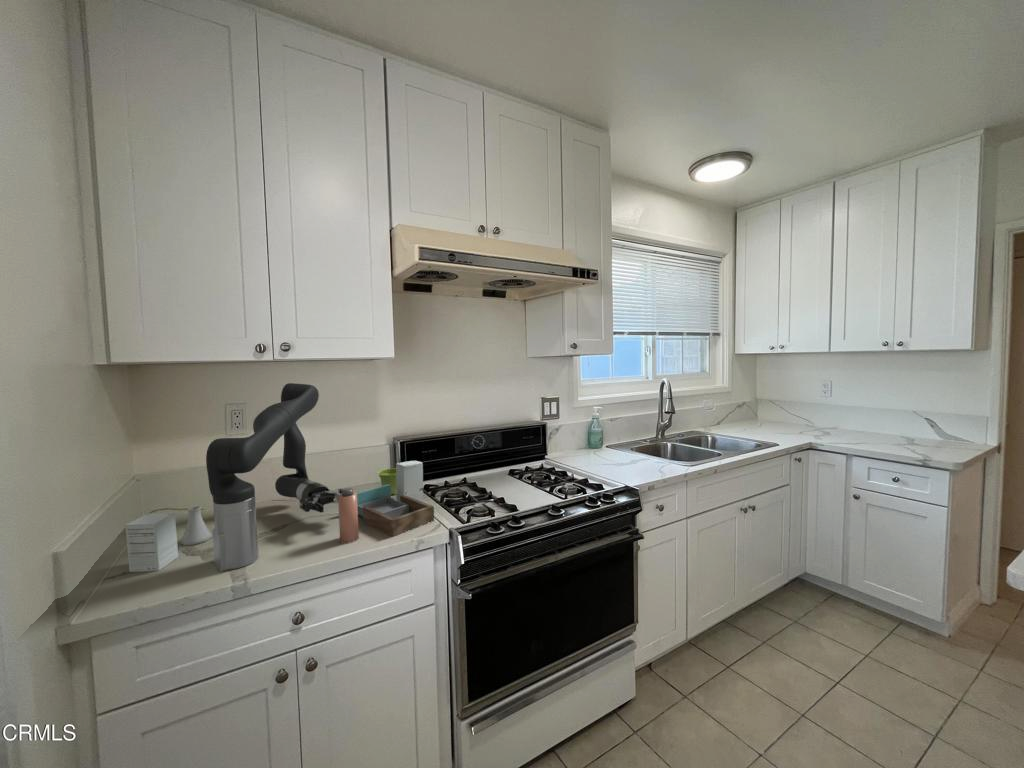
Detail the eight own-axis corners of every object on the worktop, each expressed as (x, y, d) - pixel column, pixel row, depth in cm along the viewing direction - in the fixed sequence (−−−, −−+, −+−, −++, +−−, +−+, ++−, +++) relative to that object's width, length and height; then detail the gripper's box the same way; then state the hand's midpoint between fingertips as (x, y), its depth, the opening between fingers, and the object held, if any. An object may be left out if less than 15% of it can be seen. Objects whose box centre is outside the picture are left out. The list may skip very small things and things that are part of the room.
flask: (195, 547, 121) (193, 513, 120) (174, 545, 122) (172, 511, 121) (217, 536, 128) (215, 504, 127) (197, 534, 129) (195, 502, 128)
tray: (372, 526, 133) (371, 506, 133) (348, 514, 143) (347, 495, 143) (414, 511, 145) (413, 493, 145) (389, 501, 155) (389, 484, 155)
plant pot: (373, 496, 162) (373, 474, 161) (386, 488, 171) (386, 467, 170) (395, 498, 160) (395, 475, 159) (407, 490, 169) (407, 468, 168)
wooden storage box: (393, 536, 126) (392, 520, 126) (363, 521, 138) (362, 506, 137) (434, 521, 138) (433, 506, 137) (403, 508, 149) (403, 494, 149)
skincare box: (403, 507, 150) (402, 466, 149) (395, 502, 155) (394, 463, 154) (424, 501, 156) (423, 462, 155) (416, 497, 160) (415, 459, 159)
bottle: (345, 544, 121) (343, 494, 120) (336, 539, 125) (334, 490, 124) (362, 538, 125) (360, 489, 124) (353, 533, 129) (351, 485, 127)
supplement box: (150, 558, 114) (147, 513, 113) (179, 557, 115) (176, 512, 114) (127, 572, 107) (123, 524, 106) (158, 571, 107) (155, 523, 106)
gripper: (289, 488, 134) (312, 499, 124) (333, 477, 145) (357, 487, 134) (290, 510, 135) (313, 524, 124) (334, 498, 145) (358, 510, 135)
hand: (336, 505), depth 129 cm, fingers open, 8 cm apart
